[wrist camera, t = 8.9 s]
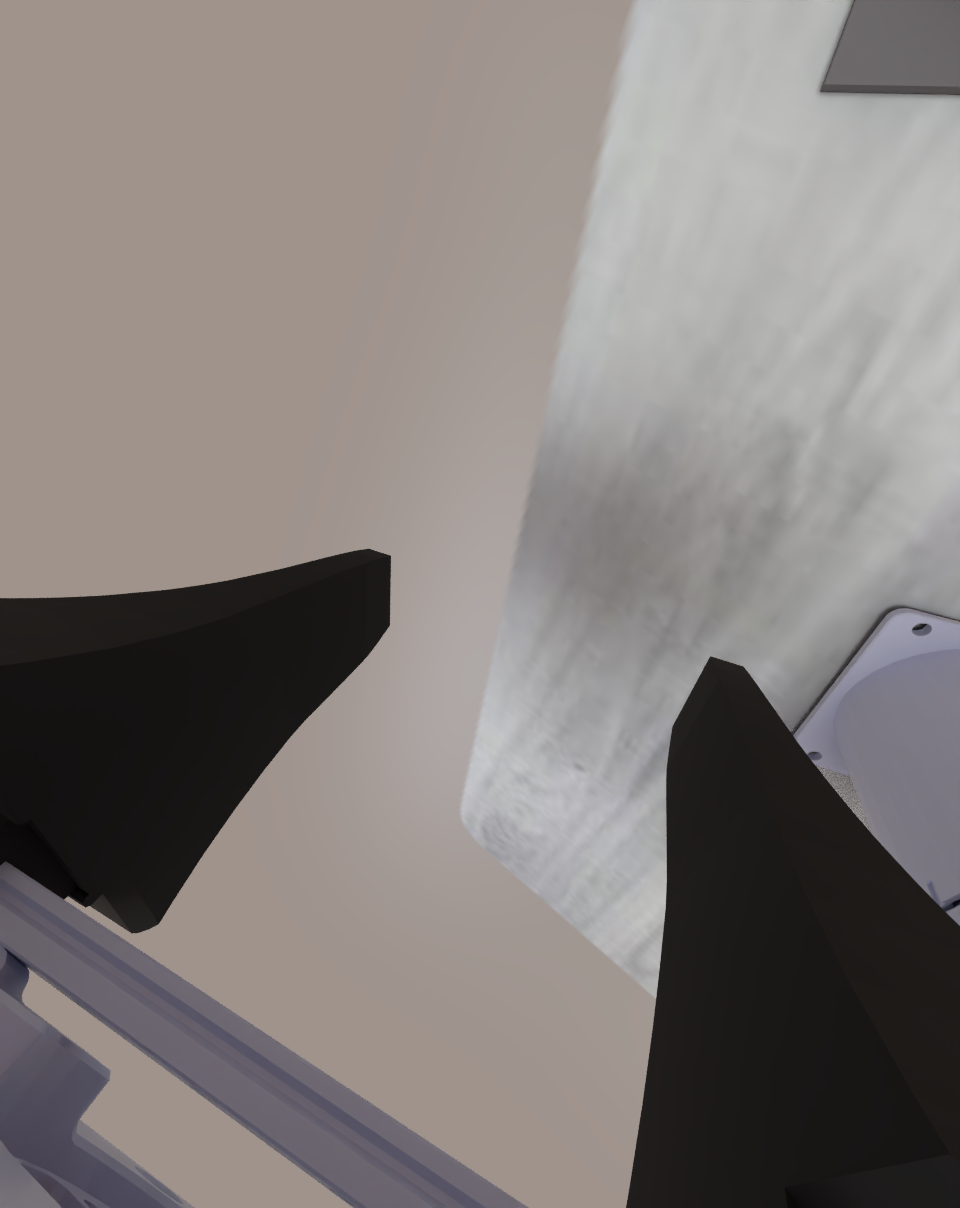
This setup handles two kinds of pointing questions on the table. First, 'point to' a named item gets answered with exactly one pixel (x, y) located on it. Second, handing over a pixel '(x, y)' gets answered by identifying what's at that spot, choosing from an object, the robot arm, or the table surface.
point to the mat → (898, 48)
